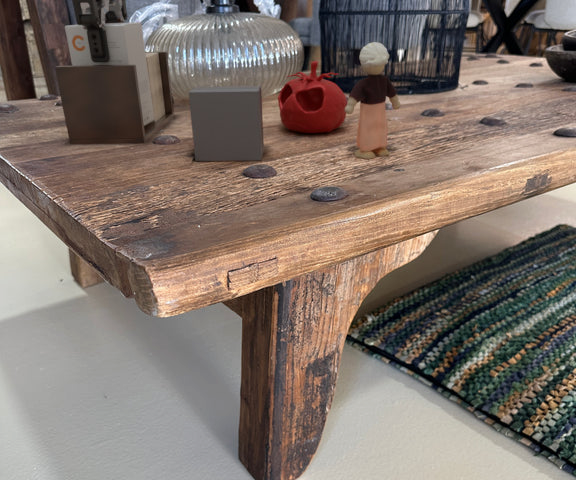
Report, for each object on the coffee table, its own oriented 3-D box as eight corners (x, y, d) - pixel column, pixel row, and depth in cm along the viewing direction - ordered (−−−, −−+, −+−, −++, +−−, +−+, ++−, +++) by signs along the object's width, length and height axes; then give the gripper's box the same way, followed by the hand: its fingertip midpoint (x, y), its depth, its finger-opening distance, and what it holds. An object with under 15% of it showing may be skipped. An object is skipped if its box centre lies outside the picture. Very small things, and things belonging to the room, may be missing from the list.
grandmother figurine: (377, 147, 73) (383, 39, 67) (401, 152, 70) (409, 40, 64) (335, 158, 68) (337, 43, 63) (359, 164, 66) (363, 45, 60)
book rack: (70, 148, 76) (54, 66, 71) (113, 121, 92) (102, 52, 87) (144, 147, 75) (133, 65, 70) (174, 120, 91) (167, 51, 86)
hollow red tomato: (310, 119, 89) (310, 55, 85) (360, 128, 83) (363, 59, 78) (263, 130, 83) (261, 62, 79) (313, 140, 77) (313, 66, 72)
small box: (155, 120, 82) (142, 21, 76) (138, 130, 77) (123, 24, 71) (103, 120, 84) (86, 22, 78) (82, 129, 78) (63, 25, 72)
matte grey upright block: (195, 161, 69) (188, 91, 65) (200, 152, 72) (194, 86, 68) (261, 160, 68) (258, 90, 64) (263, 152, 72) (261, 85, 68)
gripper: (78, -82, 75) (100, 54, 83) (30, -96, 62) (61, 66, 70) (134, -84, 75) (151, 53, 83) (97, -99, 62) (121, 64, 70)
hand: (110, 58), depth 76 cm, fingers closed on small box, 6 cm apart
